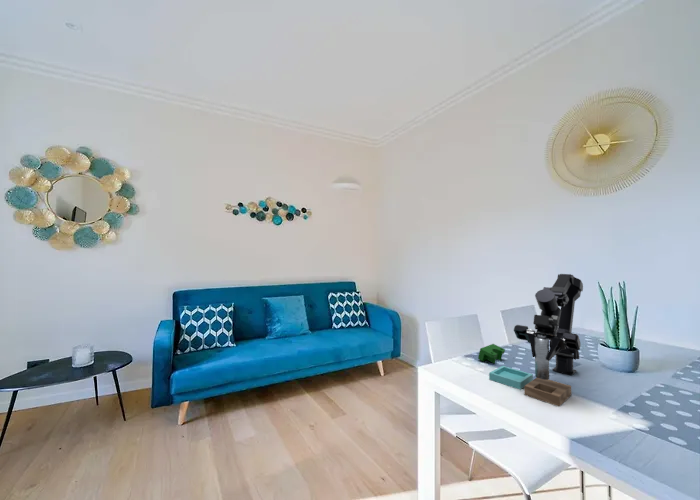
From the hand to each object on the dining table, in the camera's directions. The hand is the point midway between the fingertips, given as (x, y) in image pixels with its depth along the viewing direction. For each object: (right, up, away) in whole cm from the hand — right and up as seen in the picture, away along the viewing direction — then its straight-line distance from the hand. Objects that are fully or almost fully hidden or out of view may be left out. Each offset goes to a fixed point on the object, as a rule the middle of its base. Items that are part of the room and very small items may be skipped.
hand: (540, 358), depth 99 cm
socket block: (+4, -13, +2) cm, 13 cm away
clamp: (0, -14, +34) cm, 37 cm away
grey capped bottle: (+1, -7, +1) cm, 7 cm away
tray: (-3, -13, +13) cm, 19 cm away
